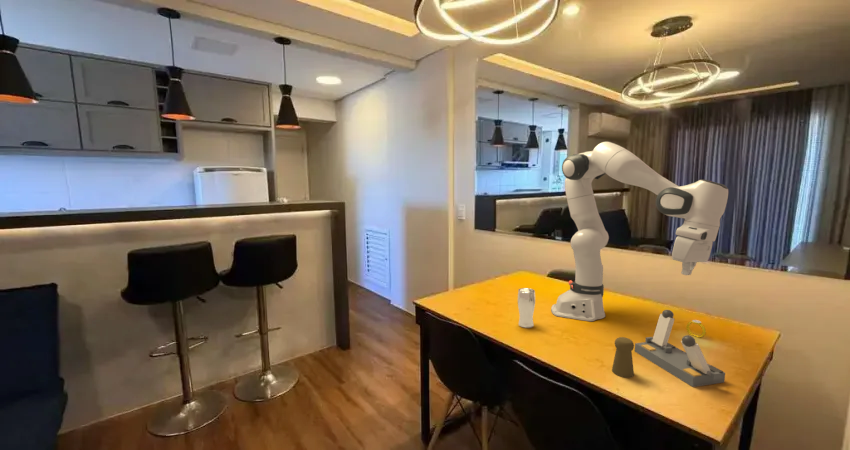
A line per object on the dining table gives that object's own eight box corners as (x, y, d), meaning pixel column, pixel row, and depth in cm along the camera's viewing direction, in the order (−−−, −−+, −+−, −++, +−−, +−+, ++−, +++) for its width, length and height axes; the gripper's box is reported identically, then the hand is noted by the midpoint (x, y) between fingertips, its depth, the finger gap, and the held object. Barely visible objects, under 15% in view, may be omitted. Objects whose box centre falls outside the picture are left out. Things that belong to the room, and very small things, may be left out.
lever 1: (655, 342, 123) (665, 307, 123) (669, 350, 118) (680, 313, 117) (647, 341, 123) (658, 306, 122) (661, 349, 117) (673, 312, 116)
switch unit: (661, 348, 126) (662, 335, 125) (732, 386, 102) (733, 371, 101) (634, 351, 124) (634, 338, 123) (699, 391, 100) (700, 376, 99)
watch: (705, 338, 133) (708, 324, 132) (701, 340, 132) (703, 325, 131) (688, 331, 138) (691, 317, 137) (684, 333, 137) (686, 318, 136)
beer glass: (535, 323, 149) (536, 288, 148) (533, 329, 143) (534, 293, 141) (519, 320, 152) (519, 287, 151) (516, 327, 146) (516, 291, 144)
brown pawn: (607, 368, 113) (609, 335, 112) (625, 366, 114) (627, 334, 112) (619, 378, 107) (621, 343, 106) (638, 377, 108) (640, 342, 106)
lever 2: (697, 362, 108) (681, 329, 105) (716, 372, 102) (700, 338, 99) (689, 368, 107) (673, 335, 105) (708, 379, 101) (691, 344, 99)
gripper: (699, 231, 119) (687, 270, 121) (674, 228, 107) (661, 272, 109) (722, 236, 114) (709, 276, 116) (698, 234, 102) (684, 279, 104)
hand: (685, 274), depth 113 cm, fingers closed
